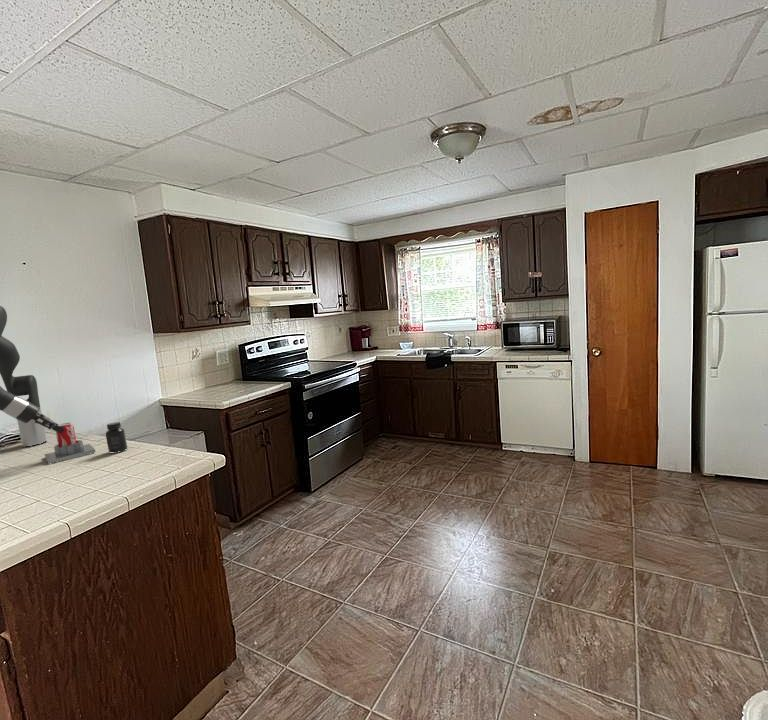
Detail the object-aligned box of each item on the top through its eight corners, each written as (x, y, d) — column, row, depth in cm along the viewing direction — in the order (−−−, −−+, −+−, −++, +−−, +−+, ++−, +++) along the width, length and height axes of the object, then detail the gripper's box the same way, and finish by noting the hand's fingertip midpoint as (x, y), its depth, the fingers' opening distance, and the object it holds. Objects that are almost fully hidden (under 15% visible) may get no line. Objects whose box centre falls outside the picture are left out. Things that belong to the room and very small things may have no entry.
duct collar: (44, 457, 182) (42, 446, 182) (89, 447, 193) (87, 436, 193) (48, 464, 172) (46, 452, 172) (95, 452, 183) (93, 441, 182)
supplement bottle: (131, 448, 185) (126, 420, 184) (120, 453, 179) (115, 425, 177) (116, 448, 186) (111, 421, 185) (104, 454, 179) (100, 426, 178)
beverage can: (68, 454, 179) (63, 426, 177) (55, 454, 180) (50, 426, 179) (81, 449, 185) (76, 422, 183) (69, 449, 186) (64, 422, 185)
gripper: (29, 403, 168) (70, 424, 177) (26, 399, 178) (65, 420, 187) (14, 419, 165) (57, 440, 174) (12, 415, 175) (52, 435, 184)
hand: (61, 430), depth 180 cm, fingers open, 8 cm apart
